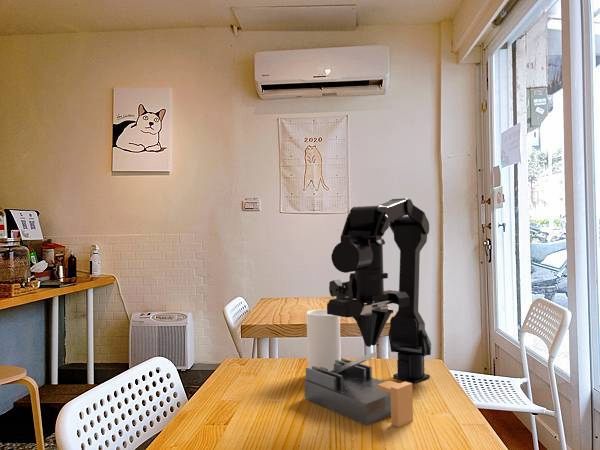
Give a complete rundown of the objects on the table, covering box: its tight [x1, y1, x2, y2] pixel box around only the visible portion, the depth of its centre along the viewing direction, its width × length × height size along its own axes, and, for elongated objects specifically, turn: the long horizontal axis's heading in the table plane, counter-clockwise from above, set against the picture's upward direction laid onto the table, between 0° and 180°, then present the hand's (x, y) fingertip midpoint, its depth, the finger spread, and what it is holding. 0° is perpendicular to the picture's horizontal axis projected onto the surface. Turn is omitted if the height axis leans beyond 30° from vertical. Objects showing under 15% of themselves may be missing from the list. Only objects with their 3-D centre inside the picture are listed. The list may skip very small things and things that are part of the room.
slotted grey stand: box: [303, 357, 391, 427], centre depth 94 cm, size 12×18×6 cm, turn 39°
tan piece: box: [377, 380, 414, 428], centre depth 86 cm, size 4×5×7 cm
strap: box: [330, 352, 378, 374], centre depth 95 cm, size 14×3×1 cm, turn 39°
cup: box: [306, 308, 342, 371], centre depth 112 cm, size 8×8×16 cm
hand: (370, 345), depth 91 cm, fingers closed
